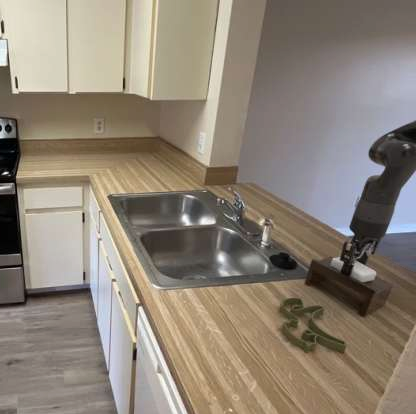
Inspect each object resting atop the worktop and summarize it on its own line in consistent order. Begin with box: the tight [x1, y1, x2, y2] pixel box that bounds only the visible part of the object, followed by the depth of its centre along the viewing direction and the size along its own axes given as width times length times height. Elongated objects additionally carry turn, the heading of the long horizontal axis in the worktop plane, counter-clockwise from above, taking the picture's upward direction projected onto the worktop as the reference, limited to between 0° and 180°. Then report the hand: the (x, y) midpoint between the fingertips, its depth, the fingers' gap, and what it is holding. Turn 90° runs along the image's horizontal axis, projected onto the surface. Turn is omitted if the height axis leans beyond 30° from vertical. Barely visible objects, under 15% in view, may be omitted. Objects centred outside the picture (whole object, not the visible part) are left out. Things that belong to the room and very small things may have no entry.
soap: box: [331, 256, 377, 282], centre depth 91 cm, size 9×6×3 cm, turn 16°
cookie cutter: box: [280, 297, 347, 354], centre depth 82 cm, size 18×12×2 cm, turn 168°
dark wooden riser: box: [304, 255, 394, 318], centre depth 93 cm, size 10×16×8 cm, turn 27°
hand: (352, 270), depth 92 cm, fingers closed on soap, 6 cm apart
